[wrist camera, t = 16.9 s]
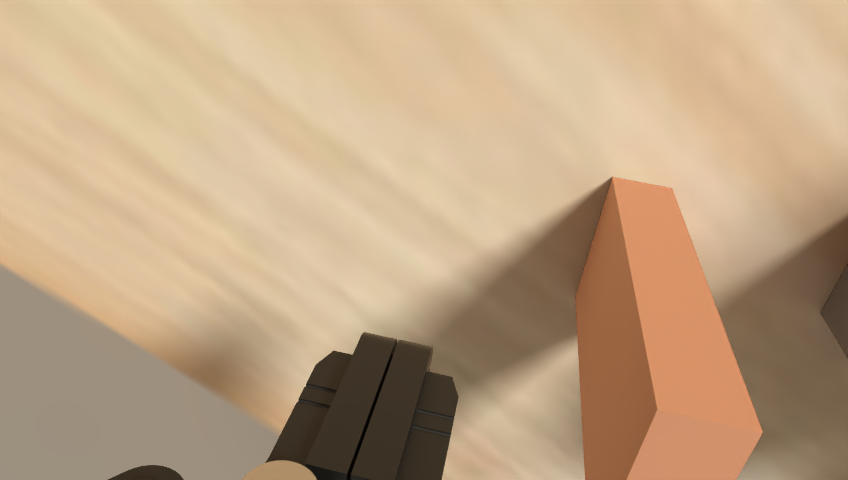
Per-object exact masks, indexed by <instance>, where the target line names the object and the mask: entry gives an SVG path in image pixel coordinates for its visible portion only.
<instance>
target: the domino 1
mask: <svg viewBox="0 0 848 480" xmlns="http://www.w3.org/2000/svg"><path fill="white" fill-rule="evenodd" d="M575 300H576V319H577V337H578V356H579V375H580V393H581V412H582V430H583V449H584V468H585V480H736V479H737V477H738V475H739V474H740V472H741V470H742V468H743V467H744V465H745V463H746V461H747V460H748V458H749V456H750V454H751V453H752V451H753V449H754V447H755V446H756V444H757V442H758V440H759V439H760V437H761V435H762V433H763V431H762V428H761V426H760V423H759V420H758V418H757V415H756V412H755V410H754V407H753V404H752V402H751V399H750V396H749V394H748V391H747V388H746V385H745V383H744V380H743V377H742V375H741V372H740V369H739V367H738V364H737V361H736V359H735V356H734V353H733V351H732V348H731V345H730V343H729V340H728V337H727V335H726V332H725V329H724V326H723V324H722V321H721V318H720V316H719V313H718V310H717V308H716V305H715V302H714V300H713V297H712V294H711V292H710V289H709V286H708V284H707V281H706V278H705V275H704V273H703V270H702V267H701V265H700V262H699V259H698V257H697V254H696V251H695V249H694V246H693V243H692V241H691V238H690V235H689V233H688V230H687V227H686V224H685V222H684V219H683V216H682V214H681V211H680V208H679V206H678V203H677V200H676V198H675V195H674V192H673V190H672V188H667V187H662V186H657V185H651V184H646V183H641V182H636V181H630V180H625V179H620V178H615V177H612V180H611V183H610V186H609V190H608V193H607V196H606V199H605V202H604V206H603V209H602V212H601V215H600V218H599V222H598V225H597V228H596V231H595V235H594V238H593V241H592V244H591V247H590V251H589V254H588V257H587V260H586V263H585V267H584V270H583V273H582V276H581V279H580V283H579V286H578V289H577V292H576V296H575Z"/></svg>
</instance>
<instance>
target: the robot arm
mask: <svg viewBox="0 0 848 480" xmlns="http://www.w3.org/2000/svg"><path fill="white" fill-rule="evenodd" d="M432 353H433V347H430V346H425V345H420V344H416V343H411V342H407V341H402V340H399V342H398V344H397V339H393V338H388V337H383V336H379V335H374V334H370V333H365V332H364V333H363V334H362V335H361V337H360V340H359V342H358V344H357V347H356V349H355V351H354V353H353V355H350V354H346V353H342V352H337V351H333V352H331V353H330V354H329V355H328V356H326V357H325V358H324V359H323V360H321V361H320V362H319V363H317V364H316V366H315V368H314V369H313V371H312V373H311V375H310V377H309V379H308V381H307V384H306V387H304V389H303V391H302V393H301V395H300V397H299V401H298V402H297V403H296V405H295V407H294V409H293V411H292V413H291V415H290V417H289V419H288V421H287V423H286V425H285V427H284V429H283V431H282V433H281V435H280V437H279V439H278V441H277V443H276V445H275V447H274V449H273V450H272V452H271V455H270V456H269V458H268V460H267V461H266V463H264V464H262V465H259V466H258V467H256V468H254V469H253V470H251V471H250V472H249V473H248V474H247V475H246V476H245V477H244V478H243V479H242V480H442V475H443V470H444V465H445V460H446V455H447V451H448V446H449V441H450V436H451V431H452V426H453V421H454V416H455V411H456V406H457V401H458V394H457V391H456V388H455V385H454V382H453V379H452V377H449V376H445V375H440V374H436V373H431V372H429V371H430V365H431V359H432ZM109 480H183V478H182V477H181V476H180V475H179V474H178V473H177V472H176V471H174V470H172V469H170V468H167V467H164V466H157V465H148V466H141V467H137V468H133V469H131V470H128V471H126V472H124V473H121V474H119V475H117V476H115V477H113V478H111V479H109Z"/></svg>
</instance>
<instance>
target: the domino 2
mask: <svg viewBox="0 0 848 480" xmlns="http://www.w3.org/2000/svg"><path fill="white" fill-rule="evenodd" d="M821 314H822V316H823V318H824V319H825V321H826V323H827V324H828V326H829V328H830V329H831V331H832V333H833V334H834V336H835V338H836V339H837V341H838V343H839V344H840V346H841V348H842V349H843V351H844V353H845V354H846V356H847V358H848V264H847V266H846V268H845V270H844V272H843V273H842V275H841V277H840V279H839V281H838V282H837V284H836V286H835V288H834V290H833V291H832V293H831V295H830V297H829V298H828V300H827V302H826V304H825V306H824V307H823V309H822V311H821Z"/></svg>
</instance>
